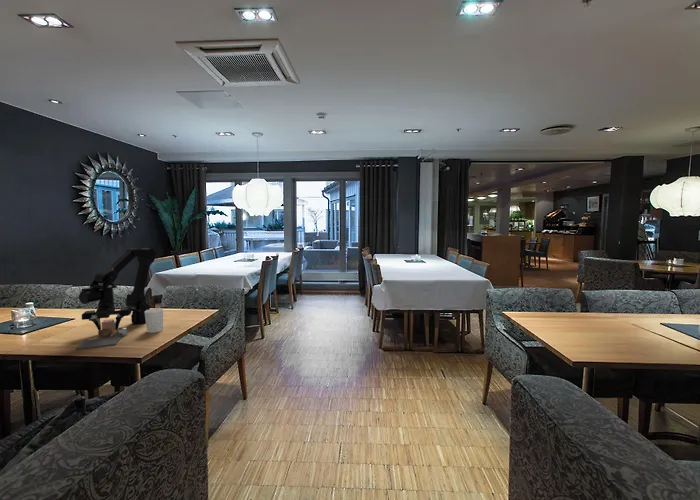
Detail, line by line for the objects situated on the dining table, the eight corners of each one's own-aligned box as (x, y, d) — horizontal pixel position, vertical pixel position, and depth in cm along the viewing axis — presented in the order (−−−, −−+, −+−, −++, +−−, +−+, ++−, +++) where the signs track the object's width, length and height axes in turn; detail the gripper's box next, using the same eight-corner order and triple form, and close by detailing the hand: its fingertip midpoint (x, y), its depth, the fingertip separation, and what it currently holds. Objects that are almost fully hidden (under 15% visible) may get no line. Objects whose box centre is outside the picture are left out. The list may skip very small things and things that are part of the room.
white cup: (167, 329, 172) (166, 309, 171) (154, 334, 164) (153, 313, 163) (155, 327, 174) (154, 307, 173) (141, 332, 167) (140, 312, 166)
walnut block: (111, 336, 162) (111, 328, 162) (106, 338, 158) (105, 331, 158) (103, 336, 162) (103, 328, 161) (98, 338, 158) (98, 331, 158)
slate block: (116, 327, 174) (115, 320, 173) (116, 329, 171) (116, 322, 170) (107, 329, 172) (107, 322, 171) (107, 331, 169) (107, 324, 168)
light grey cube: (127, 334, 165) (127, 326, 164) (126, 336, 161) (126, 329, 161) (118, 334, 163) (118, 327, 163) (117, 337, 160) (116, 329, 160)
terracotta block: (114, 331, 168) (113, 319, 168) (112, 334, 165) (111, 321, 164) (104, 332, 167) (104, 320, 166) (102, 335, 163) (101, 322, 162)
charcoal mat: (121, 337, 160) (121, 336, 160) (115, 345, 151) (115, 343, 151) (84, 341, 155) (84, 340, 155) (76, 349, 146) (76, 348, 145)
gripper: (75, 304, 153) (78, 339, 155) (125, 301, 160) (127, 333, 161) (84, 299, 163) (87, 331, 165) (130, 295, 170) (132, 326, 172)
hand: (108, 330), depth 166 cm, fingers open, 6 cm apart
